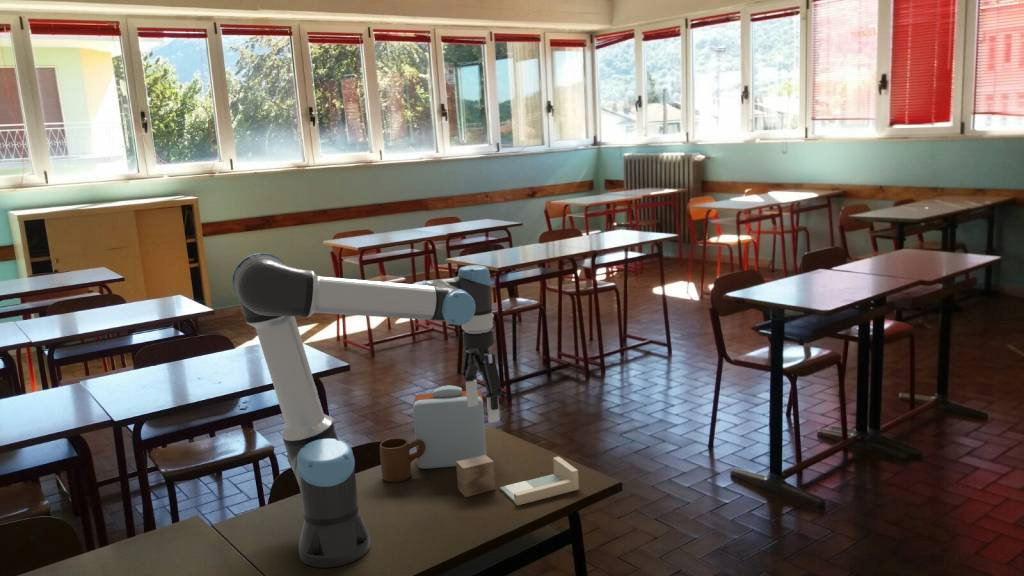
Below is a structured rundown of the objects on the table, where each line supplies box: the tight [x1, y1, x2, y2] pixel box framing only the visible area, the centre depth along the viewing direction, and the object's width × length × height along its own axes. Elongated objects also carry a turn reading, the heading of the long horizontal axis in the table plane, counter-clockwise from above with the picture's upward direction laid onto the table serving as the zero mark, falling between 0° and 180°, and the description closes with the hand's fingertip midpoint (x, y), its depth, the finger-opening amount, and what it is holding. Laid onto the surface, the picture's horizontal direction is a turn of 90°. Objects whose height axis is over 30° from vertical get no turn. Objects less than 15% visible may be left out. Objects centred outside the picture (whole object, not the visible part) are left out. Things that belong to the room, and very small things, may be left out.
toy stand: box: [499, 456, 580, 506], centre depth 200 cm, size 17×10×5 cm, turn 114°
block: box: [455, 454, 496, 498], centre depth 202 cm, size 8×5×8 cm, turn 114°
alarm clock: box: [412, 384, 487, 469], centre depth 219 cm, size 18×9×21 cm, turn 93°
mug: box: [379, 437, 425, 483], centre depth 212 cm, size 12×8×9 cm, turn 112°
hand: (483, 413), depth 200 cm, fingers open, 13 cm apart
